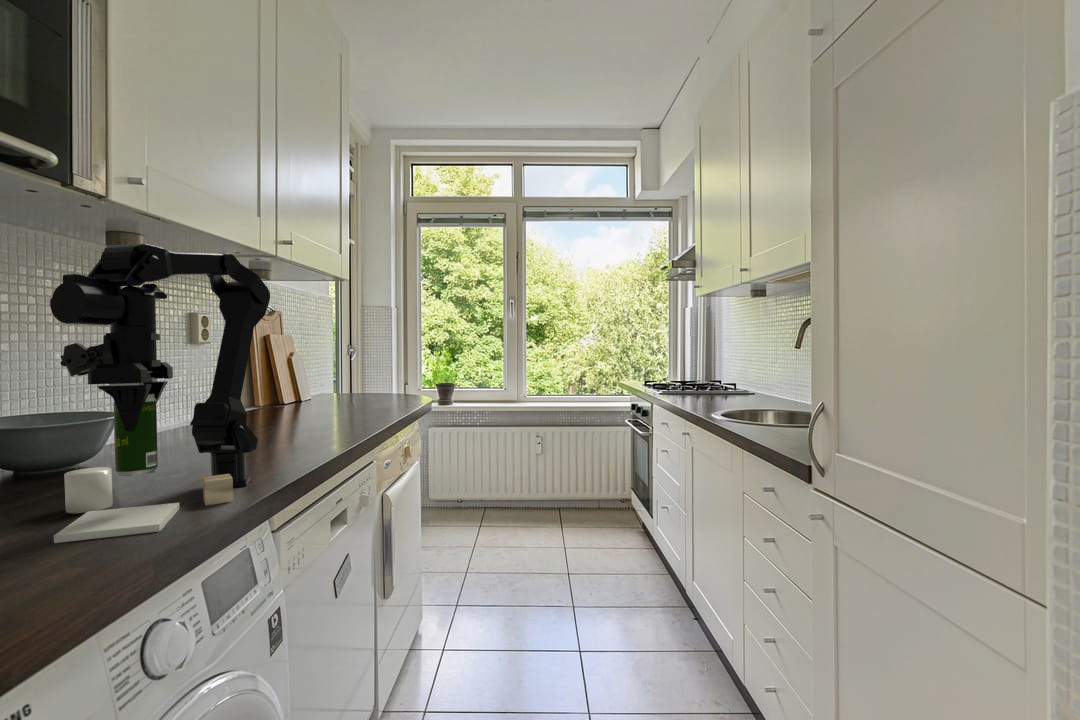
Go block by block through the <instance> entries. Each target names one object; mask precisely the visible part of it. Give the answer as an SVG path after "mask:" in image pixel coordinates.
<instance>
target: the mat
mask: <svg viewBox="0 0 1080 720" xmlns="http://www.w3.org/2000/svg"><path fill="white" fill-rule="evenodd" d="M180 506H181V505H180V502H172V503H170V502H169V503H161V504H152V505H151V504H150V505H140V506H132V507H131V506H129V507H120V508H110V509H102V510H98V511H88V512H86V513H84V514H82V515H81V516H79V518H77V519H75V520H74V521H73V522H71V523H70V524H68V525H67V526H65V527H64V528H62V529H61V530H60V531H58V532H56V534H54V535H53V544H58V543H59V544H60V543H68V542H75V541H76V542H77V541H86V540H93V539H104V538H111V537H123V536H131V535H139V534H147V533H149V534H150V533H155V532H156V533H158V532H161V531H162V530H163V528H165V526H166V525H167V524H168V523H169V521H170V520H171V519H172V518H173V517H174V516H175V514H176V513H177V512H178V511H179V510H180Z"/></svg>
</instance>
